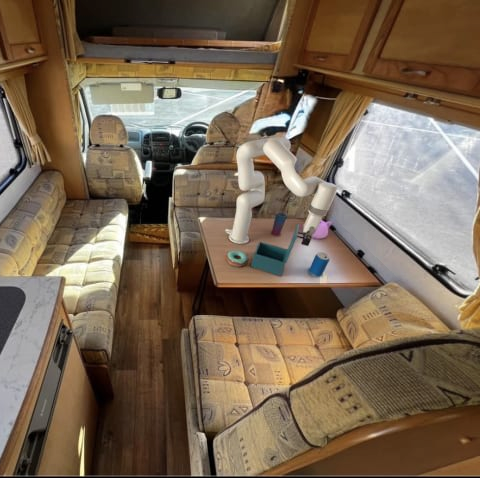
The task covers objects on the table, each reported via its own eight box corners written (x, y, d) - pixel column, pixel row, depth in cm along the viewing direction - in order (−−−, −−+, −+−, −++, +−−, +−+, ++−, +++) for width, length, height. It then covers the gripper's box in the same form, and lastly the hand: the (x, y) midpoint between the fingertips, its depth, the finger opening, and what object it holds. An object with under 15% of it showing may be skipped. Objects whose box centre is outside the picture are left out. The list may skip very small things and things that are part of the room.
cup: (281, 237, 168) (288, 217, 160) (271, 235, 170) (277, 215, 161) (280, 231, 174) (286, 211, 165) (269, 230, 175) (275, 210, 166)
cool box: (250, 266, 144) (254, 254, 139) (255, 253, 154) (259, 241, 149) (280, 276, 138) (284, 263, 133) (283, 261, 148) (288, 249, 143)
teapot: (293, 229, 176) (298, 216, 170) (320, 227, 179) (325, 213, 173) (306, 241, 165) (311, 227, 159) (334, 238, 168) (340, 224, 162)
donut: (244, 270, 142) (245, 265, 139) (223, 263, 146) (224, 258, 144) (249, 258, 150) (250, 253, 148) (229, 252, 155) (230, 246, 152)
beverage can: (321, 279, 137) (329, 261, 130) (307, 274, 140) (315, 257, 133) (322, 272, 141) (330, 254, 134) (309, 267, 144) (317, 250, 137)
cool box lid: (295, 236, 124) (307, 240, 121) (298, 223, 133) (309, 226, 131) (284, 262, 133) (295, 266, 131) (287, 248, 143) (298, 252, 141)
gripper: (310, 200, 127) (299, 229, 137) (308, 215, 114) (295, 246, 124) (327, 203, 124) (314, 233, 134) (327, 220, 111) (312, 251, 121)
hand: (305, 239), depth 129 cm, fingers open, 9 cm apart
